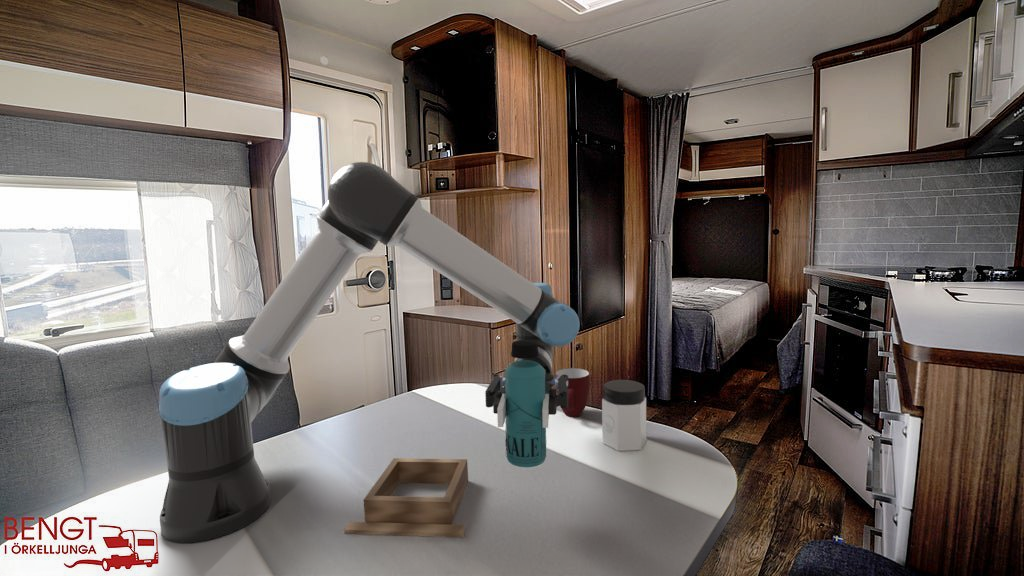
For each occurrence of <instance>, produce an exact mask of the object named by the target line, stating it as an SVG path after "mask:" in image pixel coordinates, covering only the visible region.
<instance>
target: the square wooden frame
mask: <svg viewBox="0 0 1024 576" xmlns="http://www.w3.org/2000/svg"><path fill="white" fill-rule="evenodd" d="M468 470H469V467H468V459H460V458H458V459H457V458H453V459H452V458H404V457H403V458H401V457H400V458H398V457H397V458H393V459H392V460H391V461H390V463H389V464H388V465H387V467H386V468H385V469H384V471H383V472H382V473H381V475H380V476H379V477H378V479H377V480H376V482H375V483H374V485H372V487H371V489H370V490H369V491H368V493H367V494H366V496H365V497H364V499H363V512H364V521H349V522H348V523H347V525H346V526H345V528H344V529H343V533H344V534H346V535H347V534H350V535H354V534H355V535H379V536H380V535H381V536H382V535H383V536H384V535H385V536H410V537H412V536H414V537H444V538H464V536H465V533H466V530H467V525H466V524H453V523H454V521H455V518H456V516H457V512H458V510H459V507H460V505H461V502H462V499H463V496H464V494H465V491H466V488H467V486H468V482H469V471H468ZM399 484H426V485H427V484H434V485H435V484H437V485H448V486H447V487H448V488H447V490H446V492H445V495H444V497H443V496H442V497H439V496H399V495H398V496H397V495H394V496H393V494H394V492H395V491H394V490H396V489H397V488H398V486H399Z"/></svg>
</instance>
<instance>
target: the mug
mask: <svg viewBox="0 0 1024 576" xmlns="http://www.w3.org/2000/svg"><path fill="white" fill-rule="evenodd" d="M561 375H568V408H566V409H564V408H561V410H562V412H563V414H564V415H565V416H567V417H571V418H576V417H579V416H581V415H582V414H583V413H584V410H585V408H586V406H587V404H588V398H589V391H590V385H591V382H590V381H591V379H590V372H589V370H586V369H583V368H575V367H574V368H573V367H569V368H562V369H561V368H560V369H558V370H556V371H555V373H554V378H557V377H560V376H561ZM555 389H556V395H559V394H558V391H557V387H555Z"/></svg>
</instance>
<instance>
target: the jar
mask: <svg viewBox="0 0 1024 576" xmlns="http://www.w3.org/2000/svg"><path fill="white" fill-rule="evenodd" d="M602 390H603V391H602V392H603V393H602V394H603V397H602V399H601V420H602V421H601V422H602V423H601V426H602V427H601V429H602V434H601V435H602V436H601V437H602V439H601V440H602V444H604V445H606V446H607V447H610V448H611V449H613V450H615V451H617V452H625V451H630V452H631V451H641V450H642V449H643V446H644V445H645V443H646V442H647V396H646V392H645V391H646V388H645V385H644V384H643V383H641V382H640V381H639V382H638V381H636V380H630V379H614V380H610V381H606V382H605V383H604V384H603V389H602Z"/></svg>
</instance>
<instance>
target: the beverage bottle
mask: <svg viewBox="0 0 1024 576" xmlns="http://www.w3.org/2000/svg"><path fill="white" fill-rule="evenodd" d="M538 355H539V352H538V344H537V342H535V341H531V340H519V341H516V340H515V341H513V342H512V343H511V352H510V357H512V358H515V359H516V358H519V359H529V358H535V357H537V356H538ZM545 374H546V371H545V369H544V368H543V367H542V366H541V365H540V364H539V363H537V362H535V361H530V360H521V361H516V362H511V363H510V364H509V365H508V366H507V367H506V368H505V369H504V378H505V385H504V386H505V387H504V386H503V387H504V388H505V394H504V398H506V419H505V422H504V425H505V429H504V430H505V440H504V441H505V442H504V443H505V452H506V455H505V456H506V459H507V461H508V463H510V464H511V465H513V466H516V467H519V468H534V467H537V466H539V465H542V464H544V462H545V461H546V458H547V428H543V413H542V409H543V400H544V399H545Z"/></svg>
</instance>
